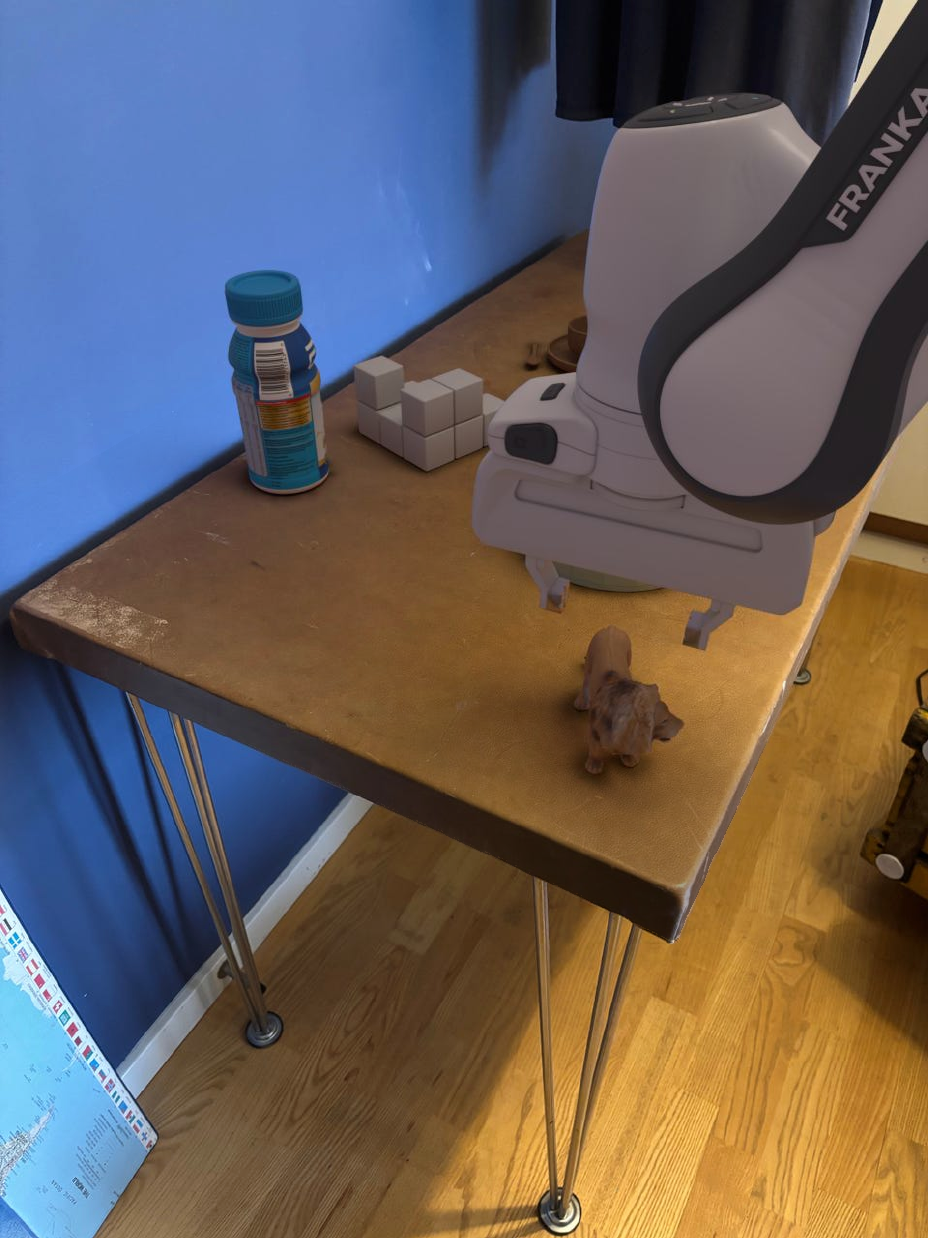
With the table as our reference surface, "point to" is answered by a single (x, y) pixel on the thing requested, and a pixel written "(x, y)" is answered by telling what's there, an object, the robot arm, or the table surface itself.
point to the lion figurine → (620, 703)
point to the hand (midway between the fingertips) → (623, 624)
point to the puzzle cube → (423, 412)
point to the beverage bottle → (276, 383)
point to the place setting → (565, 346)
